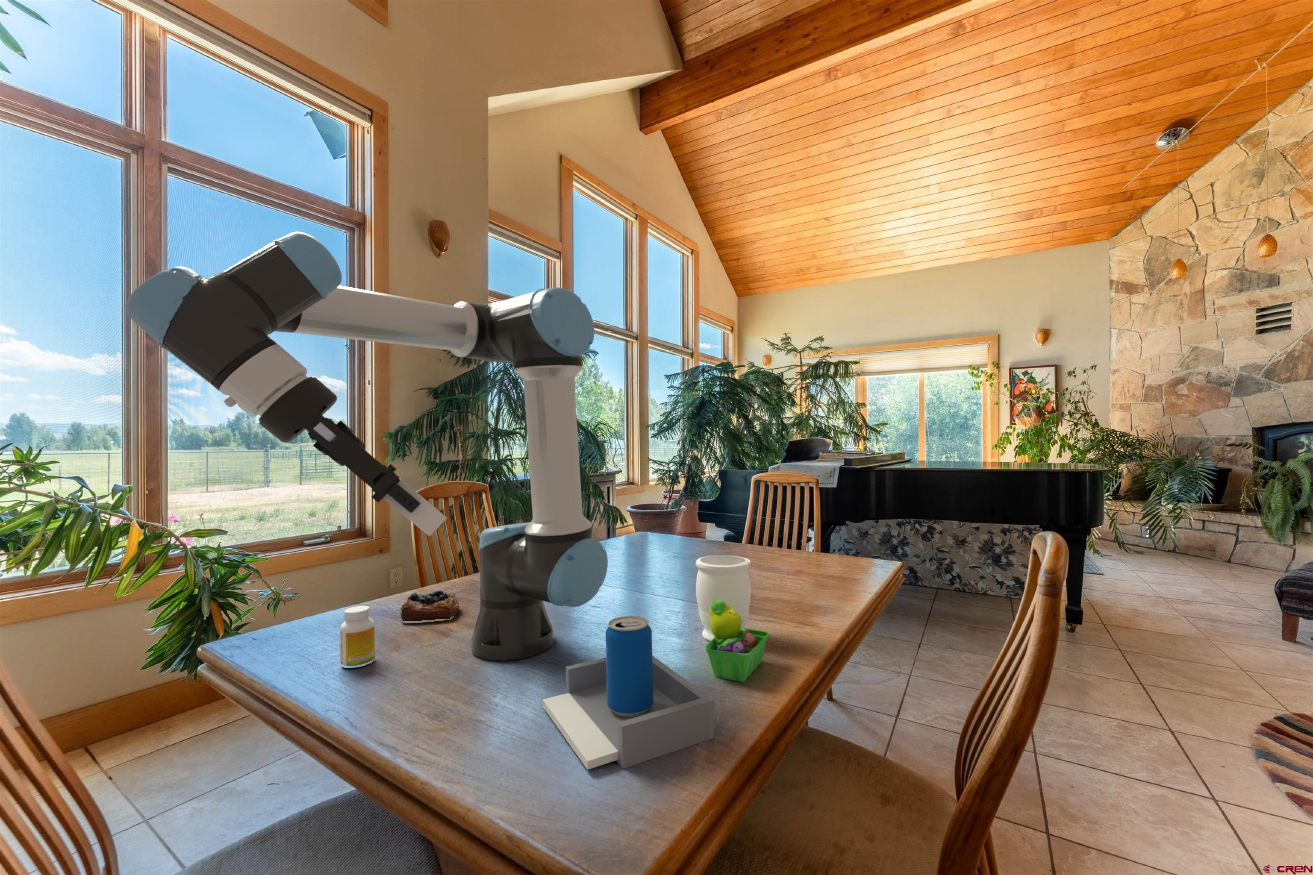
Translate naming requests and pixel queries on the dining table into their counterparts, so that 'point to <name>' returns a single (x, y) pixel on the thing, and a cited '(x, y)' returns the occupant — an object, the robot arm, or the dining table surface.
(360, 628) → the supplement bottle
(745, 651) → the fruit basket
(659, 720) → the tray
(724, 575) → the jar
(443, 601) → the pastry
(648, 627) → the beverage can
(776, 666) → the dining table surface
